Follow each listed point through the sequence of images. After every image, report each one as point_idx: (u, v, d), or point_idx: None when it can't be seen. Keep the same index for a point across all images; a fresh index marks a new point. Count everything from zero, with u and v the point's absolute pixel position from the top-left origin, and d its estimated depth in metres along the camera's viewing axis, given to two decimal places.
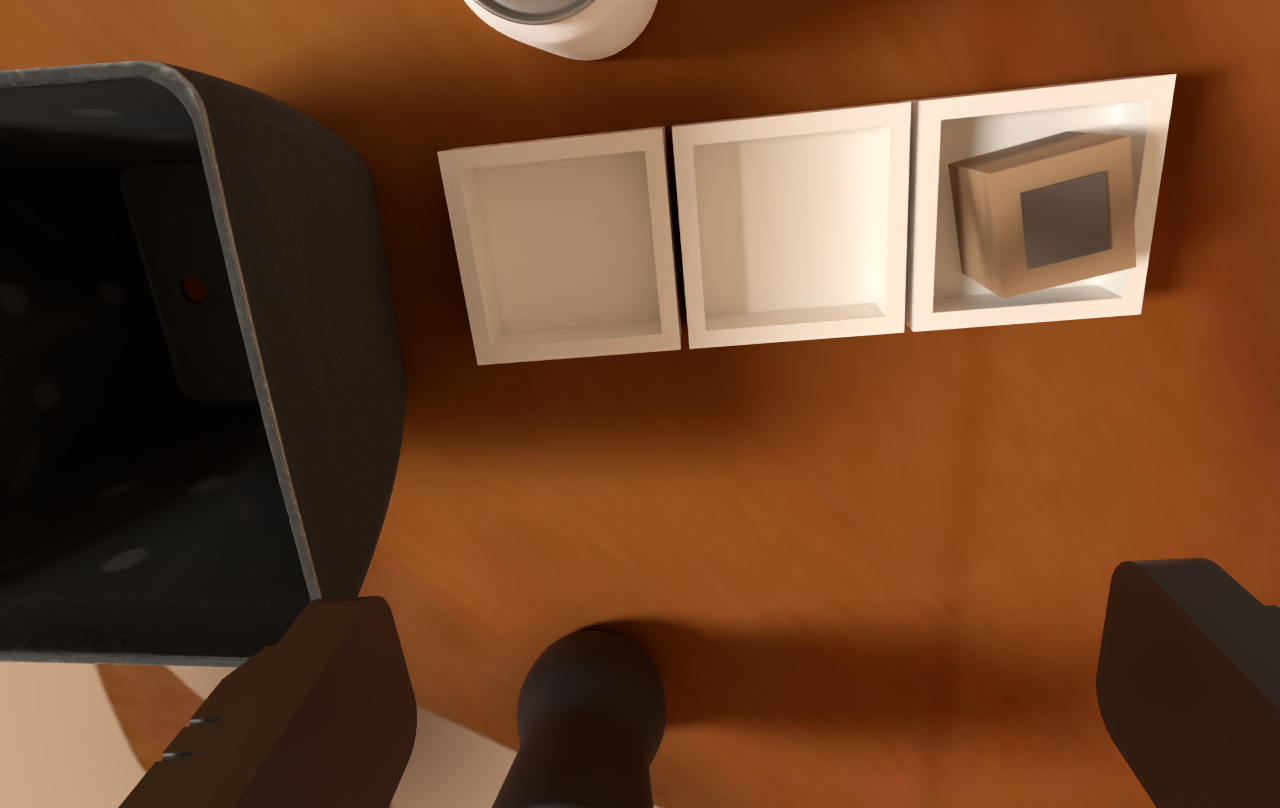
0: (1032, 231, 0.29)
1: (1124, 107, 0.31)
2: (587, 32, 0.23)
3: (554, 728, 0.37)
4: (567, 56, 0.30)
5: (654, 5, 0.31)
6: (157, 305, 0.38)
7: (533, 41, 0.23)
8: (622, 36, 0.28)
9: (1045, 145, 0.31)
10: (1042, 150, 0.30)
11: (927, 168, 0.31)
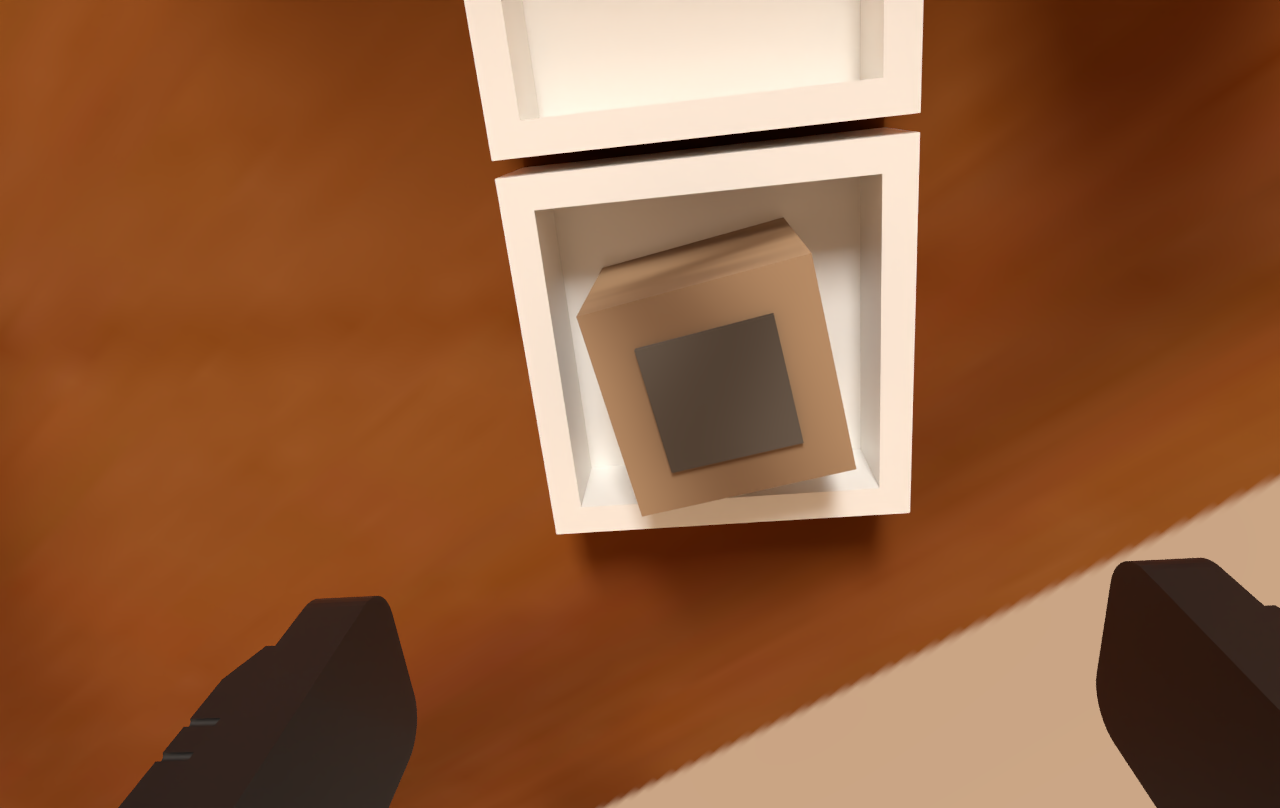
0: (704, 345, 0.16)
1: None
2: None
3: None
4: None
5: None
6: None
7: None
8: None
9: None
10: None
11: (799, 161, 0.17)
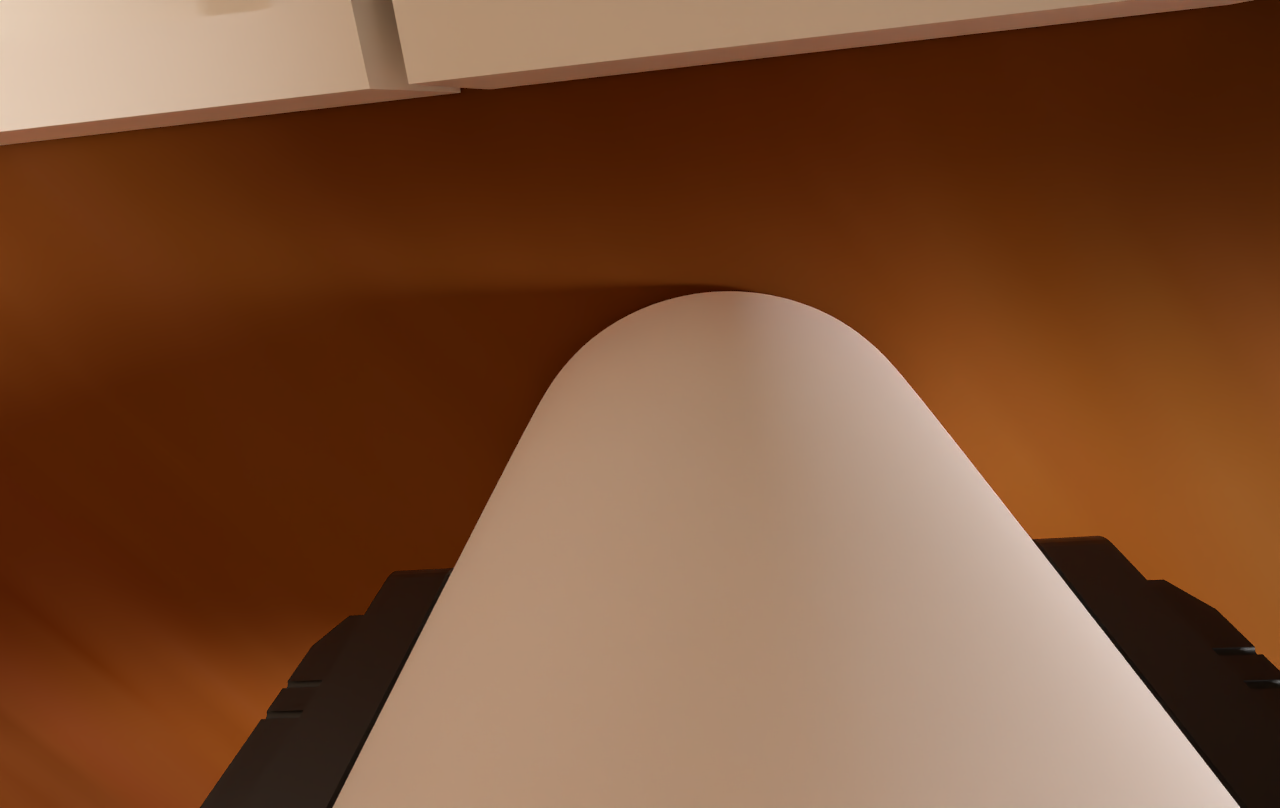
0: None
1: None
2: None
3: None
4: (782, 365, 0.08)
5: None
6: None
7: None
8: (545, 462, 0.07)
9: None
10: None
11: None
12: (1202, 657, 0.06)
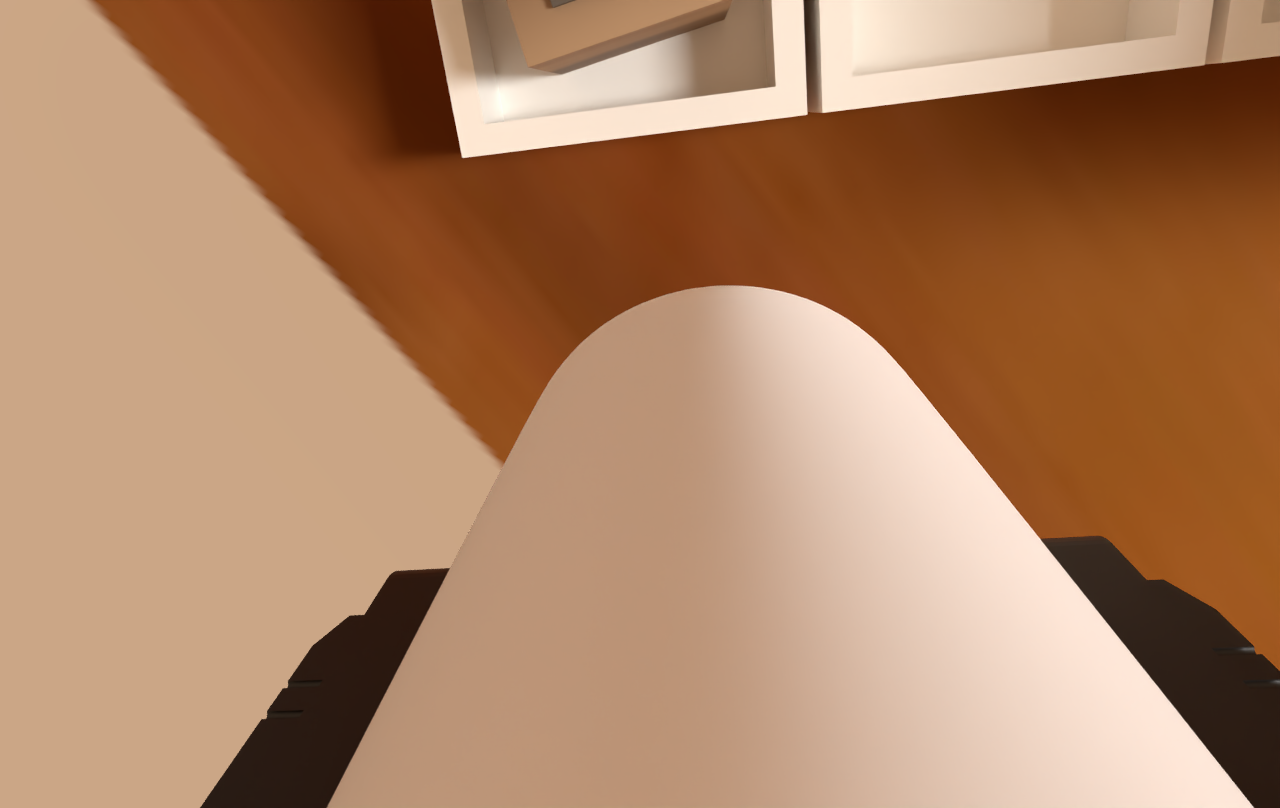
0: None
1: (498, 110, 0.22)
2: None
3: None
4: (783, 357, 0.08)
5: None
6: None
7: None
8: (546, 453, 0.07)
9: (610, 51, 0.20)
10: (626, 42, 0.19)
11: (790, 7, 0.19)
12: (1201, 657, 0.06)
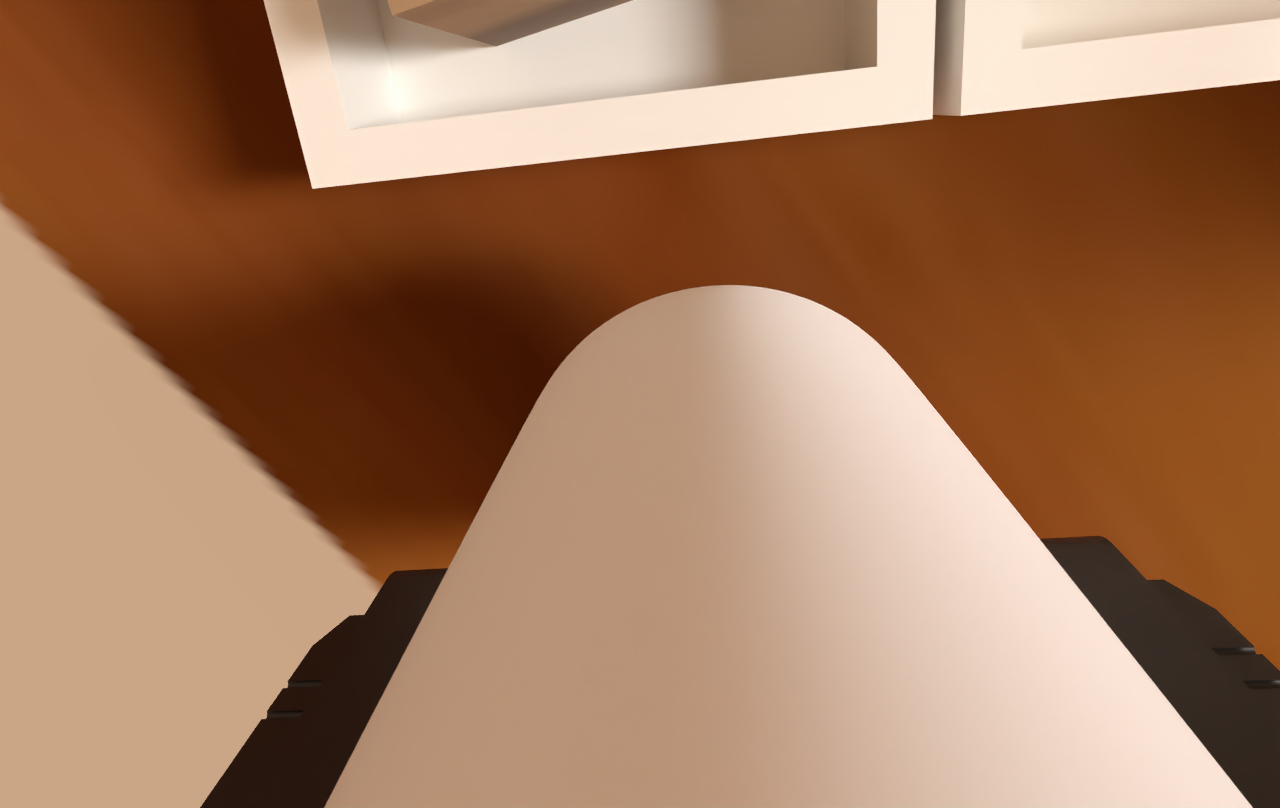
0: None
1: (388, 105, 0.13)
2: None
3: None
4: (782, 357, 0.08)
5: None
6: None
7: None
8: (544, 453, 0.07)
9: None
10: None
11: None
12: (1201, 657, 0.06)
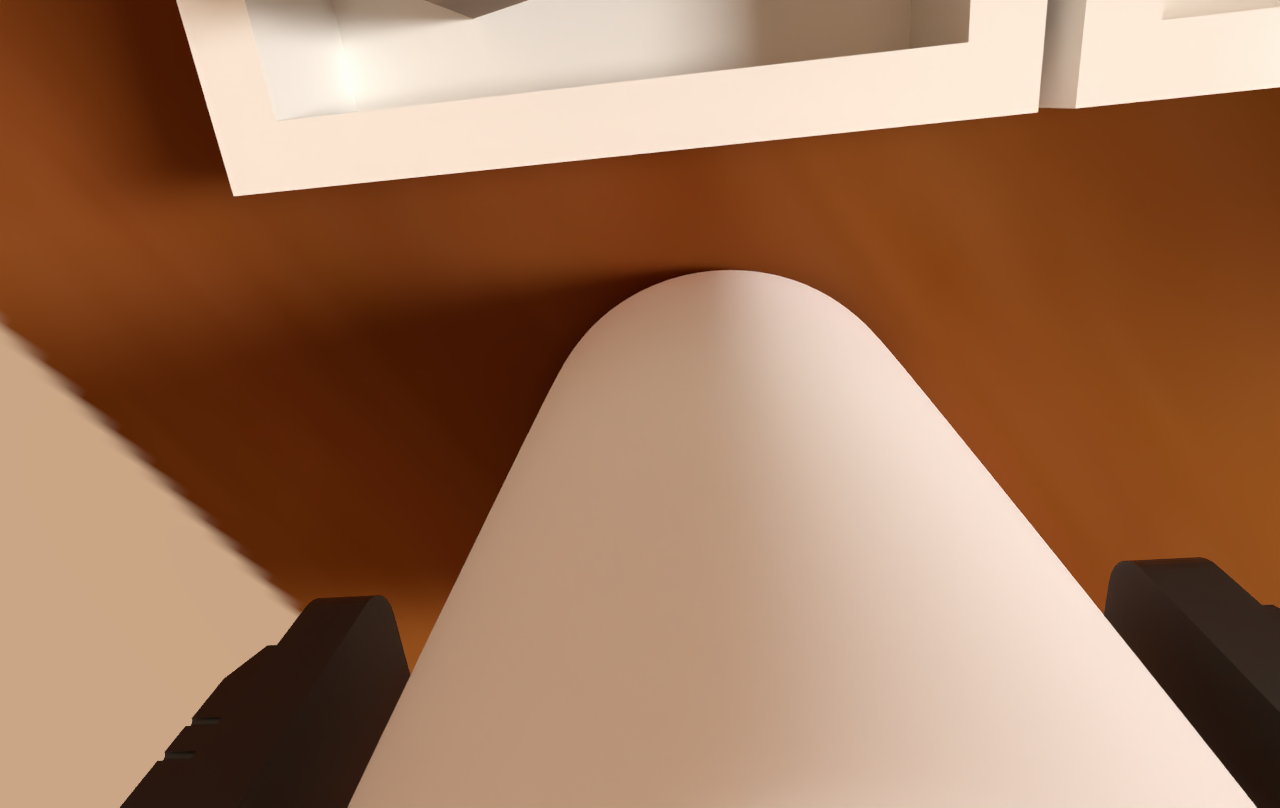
0: None
1: (337, 91, 0.11)
2: None
3: None
4: (776, 326, 0.09)
5: None
6: None
7: None
8: (576, 404, 0.08)
9: None
10: None
11: None
12: None
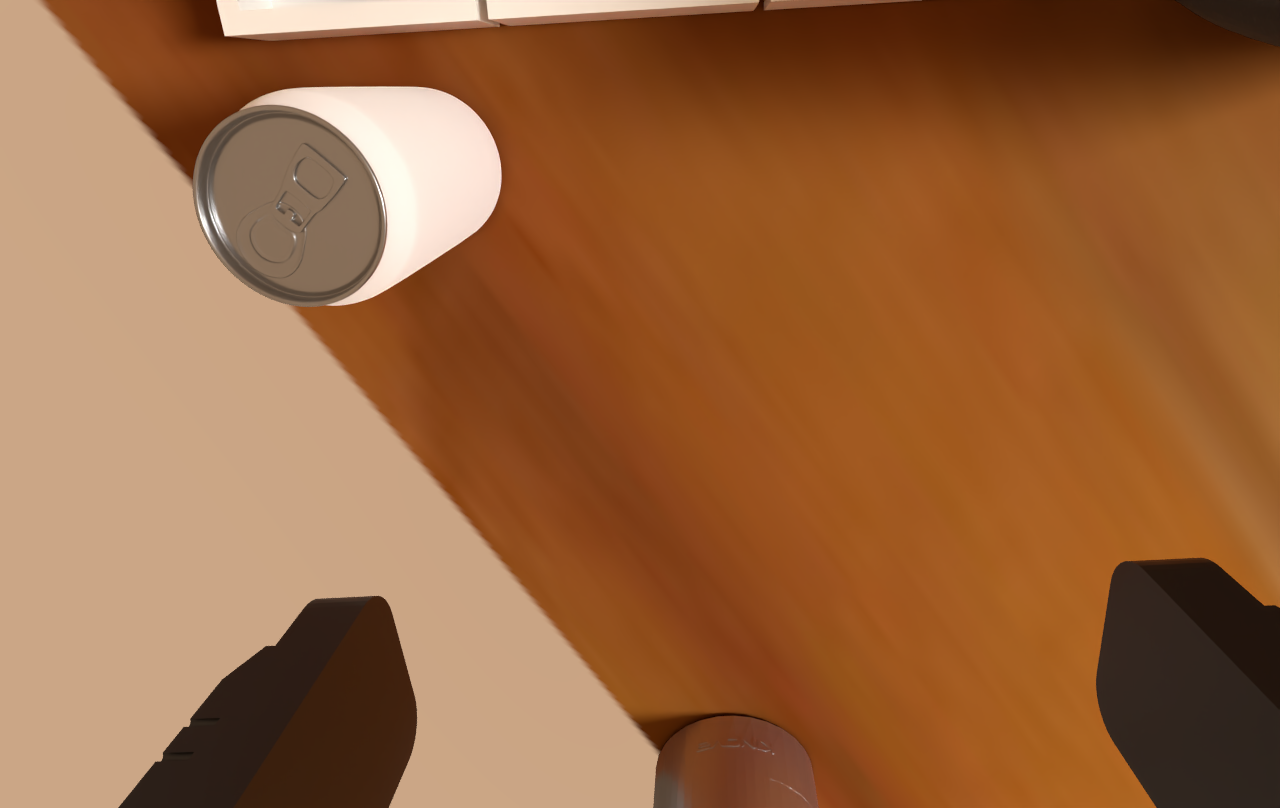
0: None
1: (265, 4, 0.29)
2: None
3: None
4: (400, 87, 0.28)
5: None
6: None
7: (313, 91, 0.21)
8: None
9: None
10: None
11: None
12: None
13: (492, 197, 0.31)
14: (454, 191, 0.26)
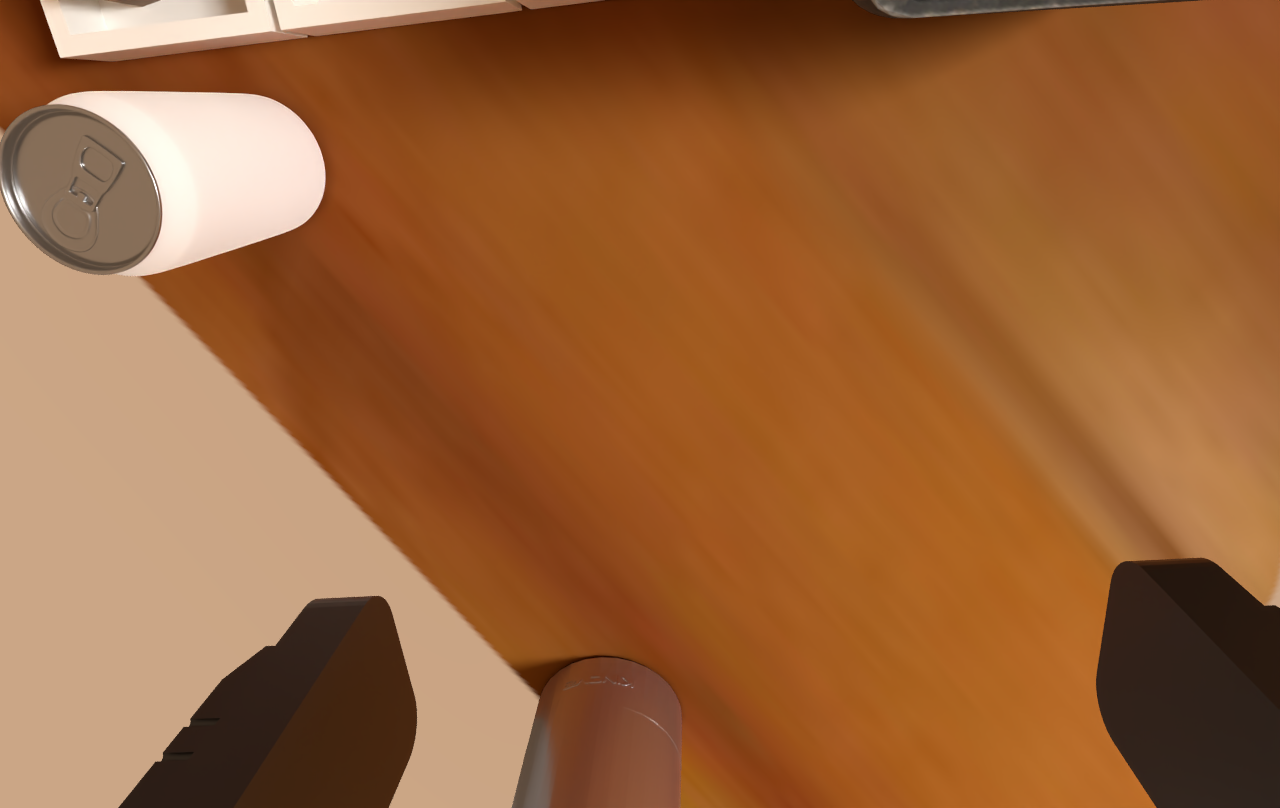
0: None
1: (99, 29, 0.33)
2: (52, 101, 0.26)
3: None
4: (211, 93, 0.32)
5: None
6: None
7: (95, 93, 0.26)
8: None
9: None
10: None
11: None
12: None
13: (313, 186, 0.35)
14: (248, 176, 0.30)
